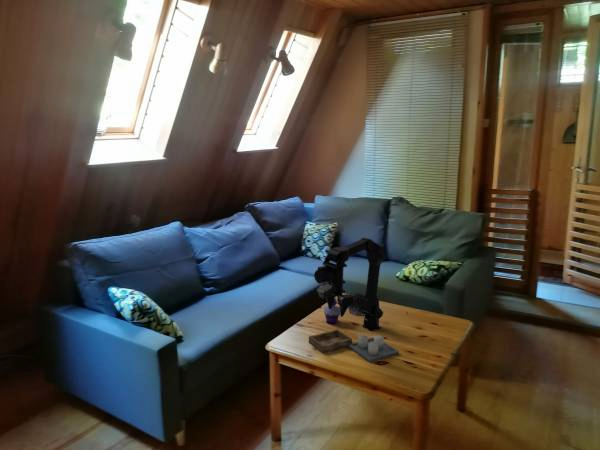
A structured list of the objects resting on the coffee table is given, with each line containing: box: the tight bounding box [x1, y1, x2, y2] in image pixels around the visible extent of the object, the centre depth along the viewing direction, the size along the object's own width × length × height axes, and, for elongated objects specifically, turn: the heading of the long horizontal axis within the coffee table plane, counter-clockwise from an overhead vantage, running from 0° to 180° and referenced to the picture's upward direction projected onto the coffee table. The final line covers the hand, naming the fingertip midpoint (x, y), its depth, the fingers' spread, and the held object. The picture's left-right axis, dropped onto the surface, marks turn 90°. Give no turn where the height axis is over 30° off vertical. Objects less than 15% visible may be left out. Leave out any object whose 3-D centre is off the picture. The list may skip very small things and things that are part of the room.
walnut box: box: [308, 329, 353, 354], centre depth 199 cm, size 15×11×3 cm
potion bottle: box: [323, 297, 340, 325], centre depth 220 cm, size 9×9×12 cm
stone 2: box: [368, 342, 378, 356], centre depth 189 cm, size 4×4×4 cm
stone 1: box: [357, 334, 369, 349], centre depth 195 cm, size 4×4×4 cm
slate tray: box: [347, 336, 400, 364], centre depth 194 cm, size 15×15×1 cm
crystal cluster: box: [347, 292, 366, 316], centre depth 235 cm, size 13×14×10 cm
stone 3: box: [373, 335, 385, 350], centre depth 194 cm, size 4×4×4 cm
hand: (335, 312), depth 198 cm, fingers open, 9 cm apart
